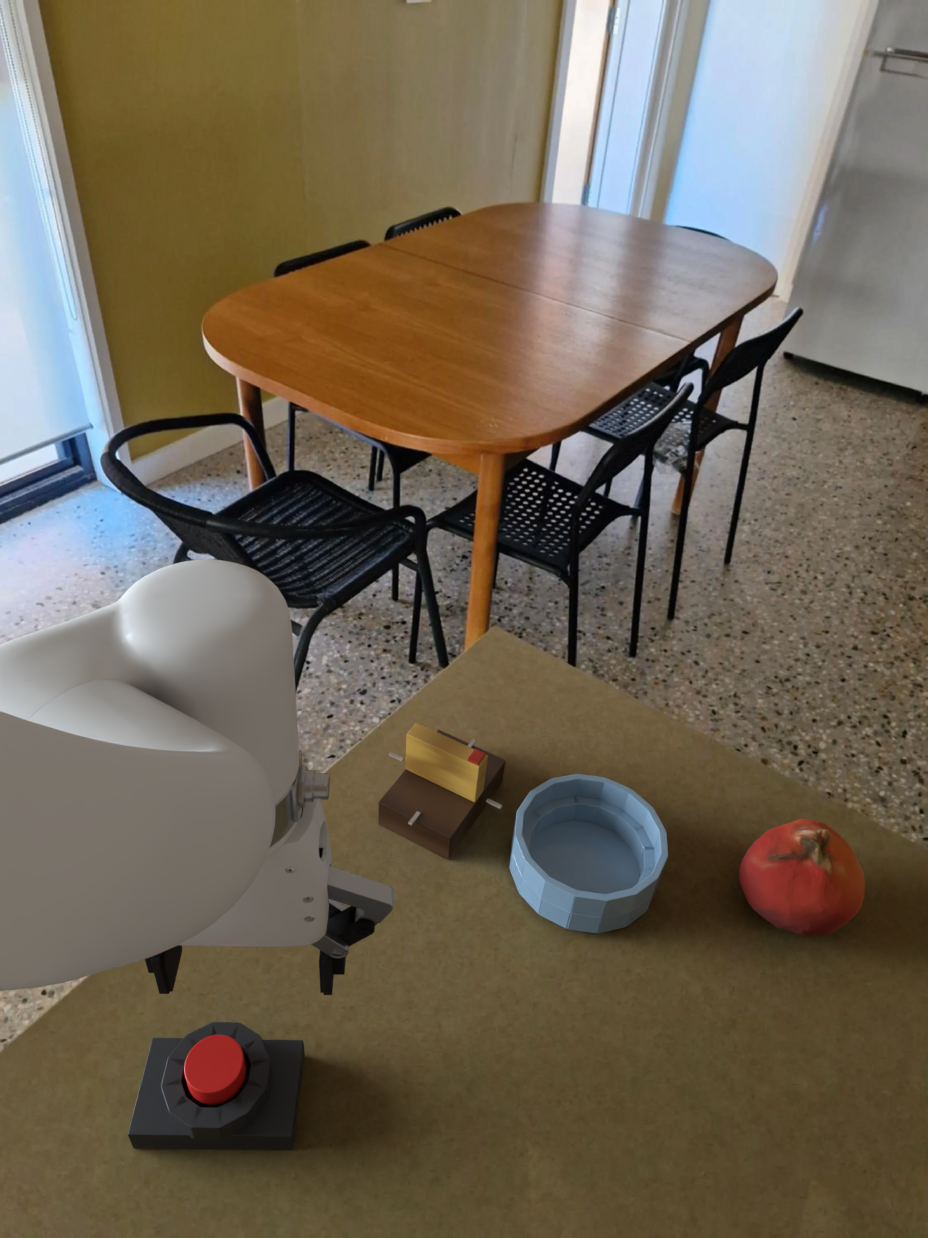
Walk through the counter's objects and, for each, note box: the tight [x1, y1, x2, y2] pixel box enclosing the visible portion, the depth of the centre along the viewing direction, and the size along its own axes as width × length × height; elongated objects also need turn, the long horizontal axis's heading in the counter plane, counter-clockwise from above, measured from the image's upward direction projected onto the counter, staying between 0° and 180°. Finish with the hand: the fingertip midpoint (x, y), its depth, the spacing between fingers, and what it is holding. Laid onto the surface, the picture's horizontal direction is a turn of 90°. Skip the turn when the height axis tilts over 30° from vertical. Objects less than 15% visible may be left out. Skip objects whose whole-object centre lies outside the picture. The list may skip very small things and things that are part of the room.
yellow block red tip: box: [404, 722, 488, 802], centre depth 75 cm, size 7×2×5 cm, turn 61°
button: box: [184, 1035, 246, 1105], centre depth 56 cm, size 4×4×2 cm
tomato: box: [738, 818, 866, 937], centre depth 71 cm, size 9×9×8 cm
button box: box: [127, 1021, 306, 1151], centre depth 57 cm, size 10×6×4 cm, turn 91°
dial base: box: [377, 729, 506, 861], centre depth 78 cm, size 11×11×3 cm
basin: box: [508, 773, 669, 934], centre depth 73 cm, size 12×12×5 cm
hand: (250, 972), depth 55 cm, fingers open, 9 cm apart
